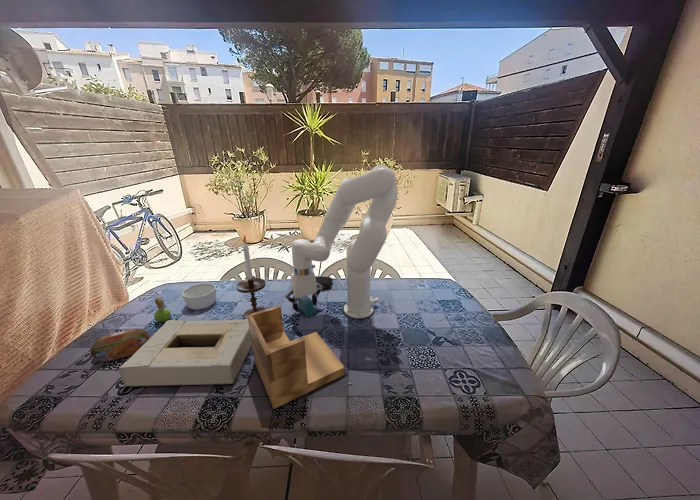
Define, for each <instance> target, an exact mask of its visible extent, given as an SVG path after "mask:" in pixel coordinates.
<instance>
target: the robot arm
mask: <svg viewBox="0 0 700 500" xmlns="http://www.w3.org/2000/svg"><path fill="white" fill-rule="evenodd" d="M370 200H371V202H370V205H369V207H368V209H367V211H366V212H365V214H364V216H363V218H362V220H361V222H360V223H359V226H358V227H359V228H358V231H359V233H358V235H357V237H356V238H353V239H351V241H350V242H349V243H348V245H347V247H346V292H347V293H346V298H347V299H346V301H347V302H346V304H345V305H344V306H343V313H344V314H345V315H346V316H347V317H349V318H351V319H366V318H368V317H370V316H372V314H373V313H374V306H373V305H374V304H376V303H379V302H380V299H379V297H373V296H371V276H372V275H371V274H372V267H373V265H374V263H375V261H376V259H377V258H378V257H379V254H380V252H381V250H382V248H383V247H384V245H385V244H386V243H385V242H386V240H387V235H388V231H387V228H386V226H387V223H388V221H389V220H390V217H391V215H392V213H393V211H394V209H395V207H396V204H397V201H398V185H397V177H396V174H395V172H394V171H393V169H391V168H390V167H388V166H386V165H384V164H379V165H376V166H374V167H373V168H372V169H371V170H370V171H368V172H365V173H363V174H360V175H358V176H355V177H352V176H350V177H345V178H344V179H342V180H341V182H340V183H339V186H338V187H337V190H336V192H335V194H334V196H333V198H332V200H331V202H330V203H329V206H328V208H327V210H326V212H325V215H324V218H323V221H322V223H321V225H320V227H319V230H318V232H317V234H316V236H315V238H314V240H313V242H311V241H310V240H309V239H306V238H299V239H295V240H293V241H292V242H291V257H292V268H293V269H292V271H293V272H292V273H291V276H290V289H289V290H288V291H287V293H285V295H284V297H285V299H286V300H287V301H289V302H290V303H292V304H291V305H292V310H293V311H295V312H296V313H299V307H298V298H301V297H304V296H308V297H309V296H311V300H312V301H313V305H314V307H317V306H318V298H319V295H320V294H321V291H322V290H323V289H322V288H323V286H322V285H320V284H318V283H316V278H315V276H316V275H315V271H314V269H315V268H316V264H313V261H314V262H325V261H327V260H328V259H329V257H330V255H331V250H332V246H333V244H334V242H335V240H336V238H337V237H338V234H339V232H340V231H341V230H342V228H343V227H345V226H346V225H347V224H348V221H349V219H350V217H351V215H352V213H353V211H354V210H355V207H356V205H358V204H361V203H364V202H366V201H367V202H368V201H370ZM317 287H318V288H317ZM291 296H292V297H291Z"/></svg>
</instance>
